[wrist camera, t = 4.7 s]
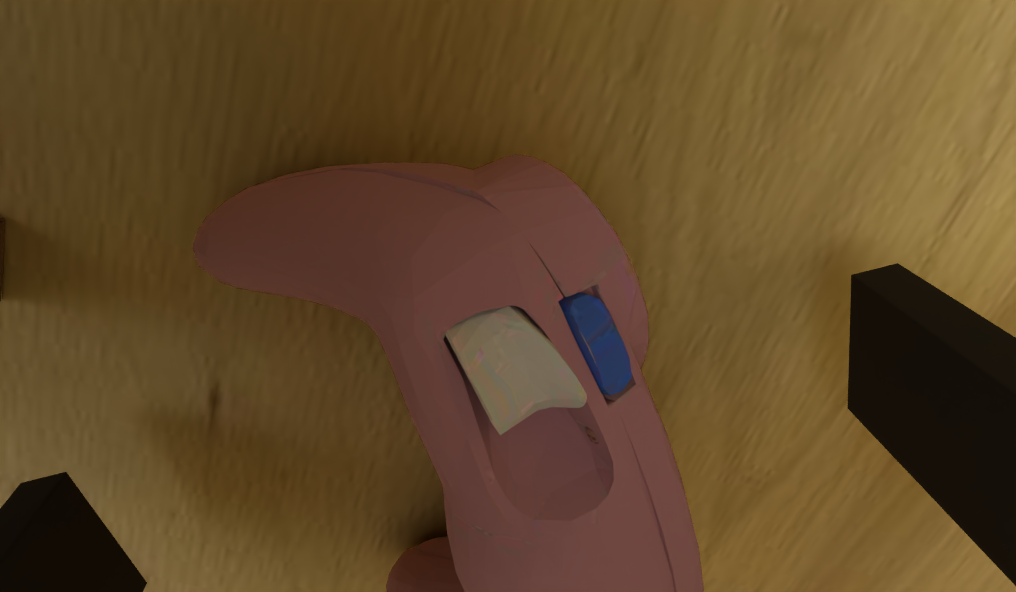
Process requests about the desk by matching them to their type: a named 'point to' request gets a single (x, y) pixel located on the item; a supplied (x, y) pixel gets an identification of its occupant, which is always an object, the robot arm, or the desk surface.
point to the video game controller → (489, 361)
